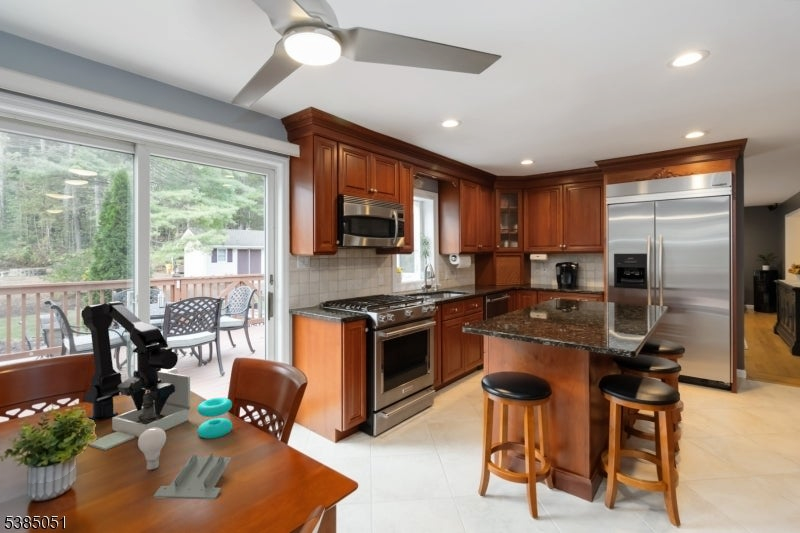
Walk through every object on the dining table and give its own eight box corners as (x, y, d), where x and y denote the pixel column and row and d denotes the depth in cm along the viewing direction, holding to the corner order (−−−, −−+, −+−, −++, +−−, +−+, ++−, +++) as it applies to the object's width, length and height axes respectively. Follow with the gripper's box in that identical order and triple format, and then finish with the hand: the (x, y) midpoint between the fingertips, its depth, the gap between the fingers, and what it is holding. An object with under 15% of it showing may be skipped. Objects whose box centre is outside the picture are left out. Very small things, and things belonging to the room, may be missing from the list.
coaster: (87, 444, 115) (87, 442, 115) (117, 432, 123) (117, 431, 123) (105, 450, 112) (105, 448, 112) (134, 437, 120) (134, 435, 120)
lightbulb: (172, 465, 104) (171, 425, 104) (150, 477, 98) (149, 435, 98) (155, 460, 106) (154, 421, 106) (132, 473, 100) (131, 431, 100)
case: (112, 429, 125) (111, 384, 125) (159, 411, 140) (158, 370, 139) (145, 438, 119) (144, 391, 119) (190, 418, 134) (190, 376, 133)
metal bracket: (184, 448, 102) (239, 449, 102) (188, 465, 104) (242, 467, 104) (148, 495, 89) (211, 497, 88) (153, 514, 91) (215, 516, 90)
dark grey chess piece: (143, 431, 124) (142, 394, 124) (134, 427, 127) (134, 391, 127) (162, 424, 129) (162, 389, 129) (153, 420, 132) (153, 386, 132)
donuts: (216, 394, 130) (238, 398, 126) (216, 423, 130) (239, 428, 126) (190, 405, 120) (213, 410, 117) (190, 436, 121) (214, 442, 117)
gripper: (103, 369, 124) (104, 417, 124) (142, 376, 116) (143, 427, 117) (138, 360, 134) (139, 405, 134) (175, 366, 127) (176, 413, 127)
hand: (148, 412), depth 128 cm, fingers open, 9 cm apart
